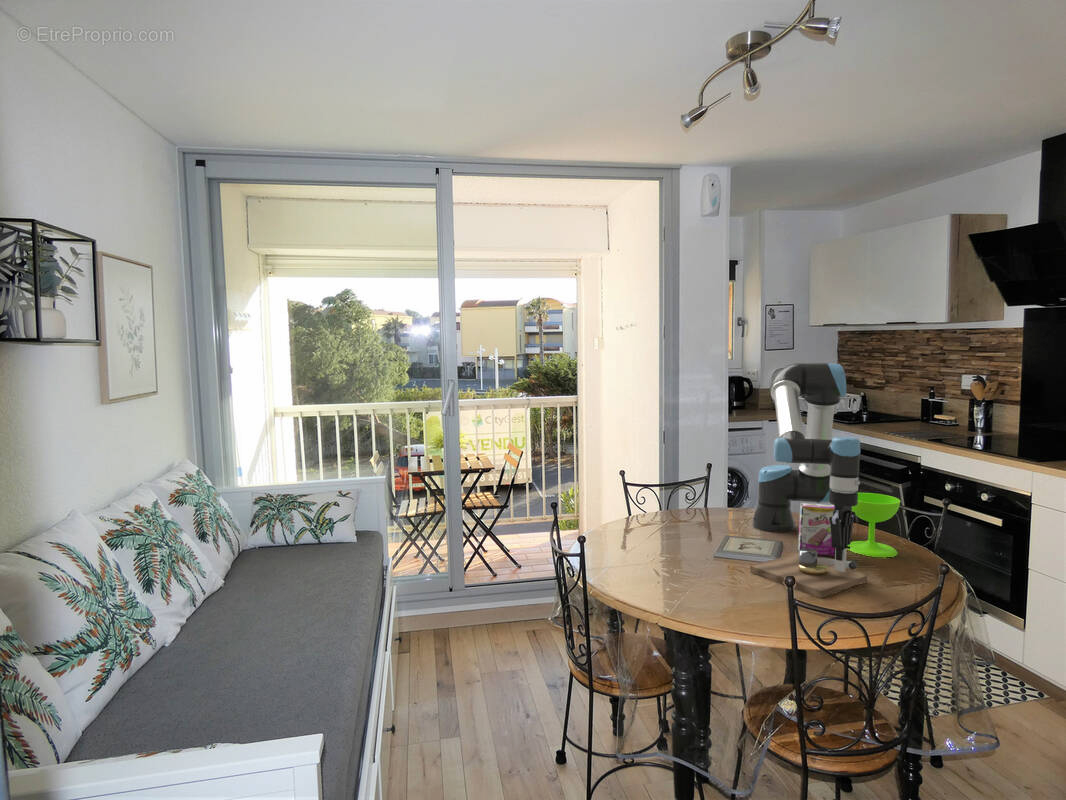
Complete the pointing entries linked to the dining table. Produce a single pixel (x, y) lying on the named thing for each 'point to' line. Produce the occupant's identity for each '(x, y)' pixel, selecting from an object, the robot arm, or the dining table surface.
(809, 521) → the candy bar box
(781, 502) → the robot arm
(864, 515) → the wineglass
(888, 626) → the dining table surface
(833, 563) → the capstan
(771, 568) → the board
